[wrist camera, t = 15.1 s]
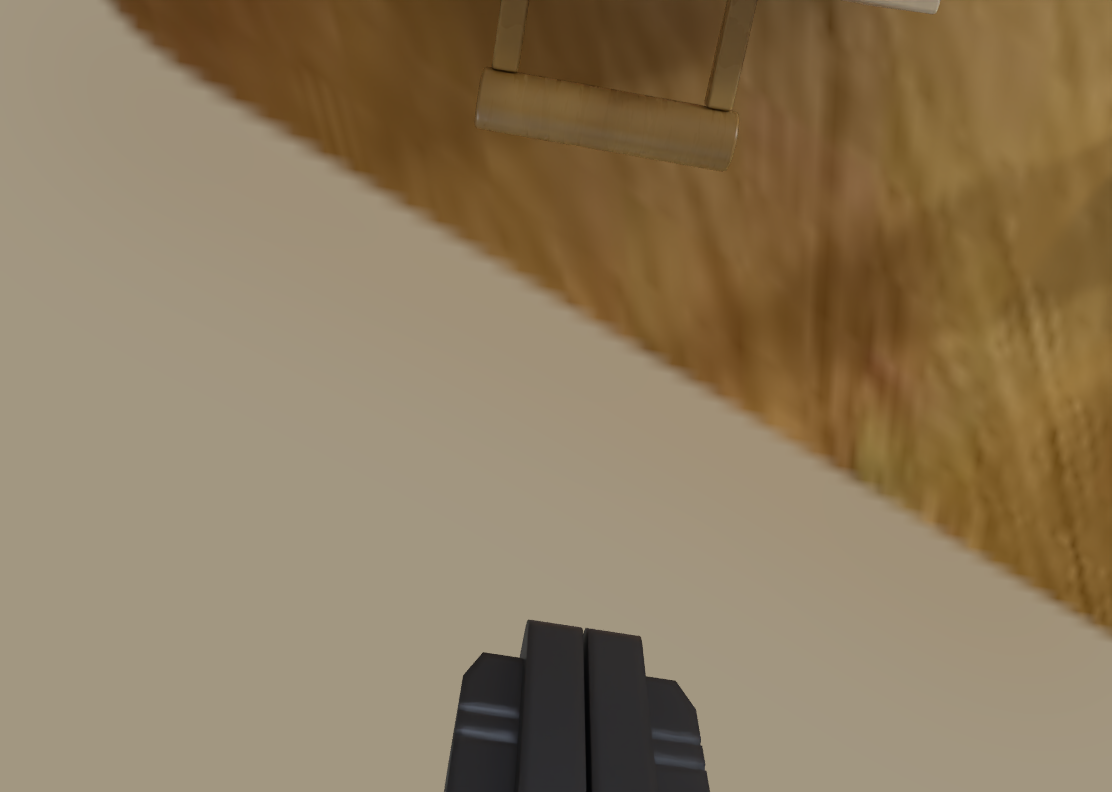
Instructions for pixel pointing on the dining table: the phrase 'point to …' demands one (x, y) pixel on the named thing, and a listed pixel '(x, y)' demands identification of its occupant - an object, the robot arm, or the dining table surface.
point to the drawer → (626, 98)
